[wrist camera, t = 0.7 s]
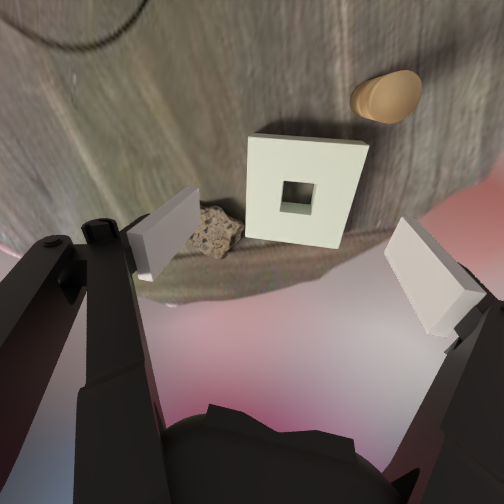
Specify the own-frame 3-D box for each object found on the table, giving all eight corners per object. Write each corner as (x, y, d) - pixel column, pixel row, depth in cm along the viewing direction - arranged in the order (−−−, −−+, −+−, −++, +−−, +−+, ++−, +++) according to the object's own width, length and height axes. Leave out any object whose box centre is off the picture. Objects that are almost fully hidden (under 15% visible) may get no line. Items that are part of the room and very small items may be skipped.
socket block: (253, 132, 35) (248, 136, 31) (362, 140, 33) (369, 145, 29) (249, 225, 44) (245, 236, 40) (334, 235, 42) (337, 248, 38)
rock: (201, 187, 42) (192, 195, 38) (251, 221, 44) (246, 232, 40) (181, 227, 48) (171, 237, 44) (225, 255, 50) (219, 267, 46)
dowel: (354, 79, 30) (380, 69, 20) (387, 81, 29) (430, 70, 19) (346, 115, 32) (366, 122, 22) (376, 117, 31) (410, 124, 21)
